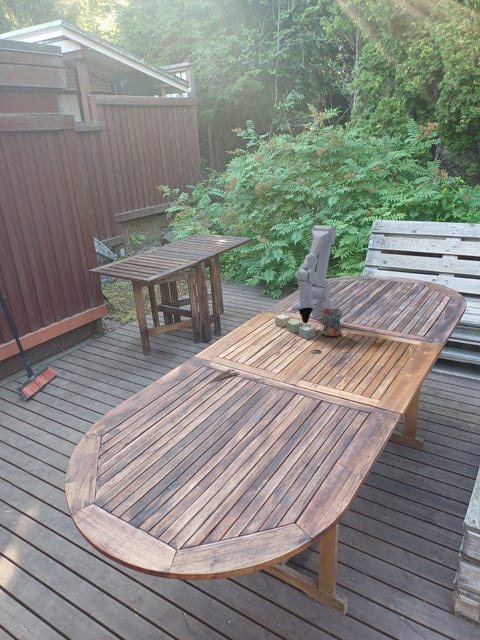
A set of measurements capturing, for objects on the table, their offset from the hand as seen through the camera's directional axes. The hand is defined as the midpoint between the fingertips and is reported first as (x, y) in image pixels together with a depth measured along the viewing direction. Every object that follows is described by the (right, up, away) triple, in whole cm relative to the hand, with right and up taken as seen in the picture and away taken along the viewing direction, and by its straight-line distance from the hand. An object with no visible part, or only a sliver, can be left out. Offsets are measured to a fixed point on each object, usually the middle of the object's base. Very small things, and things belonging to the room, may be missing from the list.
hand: (305, 322), depth 212 cm
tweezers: (-39, -22, -43) cm, 62 cm away
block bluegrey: (-1, -6, -10) cm, 11 cm away
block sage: (-5, -3, -2) cm, 7 cm away
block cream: (-10, -1, +5) cm, 11 cm away
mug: (+11, -5, -8) cm, 15 cm away
